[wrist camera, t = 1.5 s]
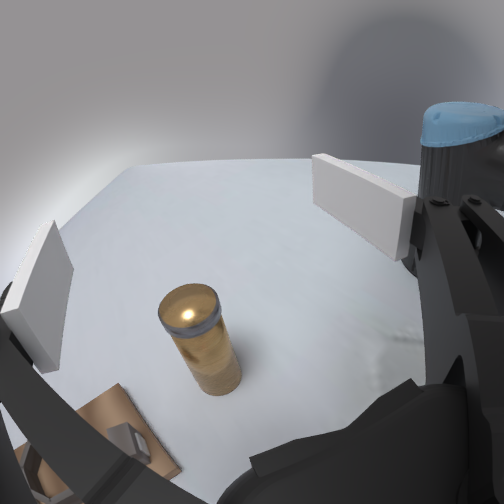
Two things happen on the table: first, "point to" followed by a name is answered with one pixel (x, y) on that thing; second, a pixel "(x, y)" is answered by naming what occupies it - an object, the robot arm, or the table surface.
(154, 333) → the table surface
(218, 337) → the brass cylinder
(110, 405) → the base
